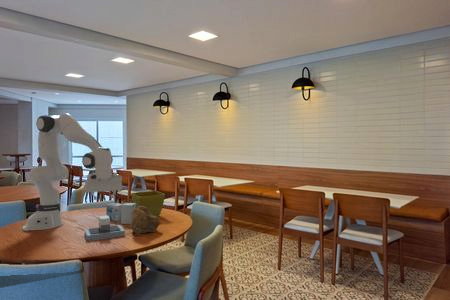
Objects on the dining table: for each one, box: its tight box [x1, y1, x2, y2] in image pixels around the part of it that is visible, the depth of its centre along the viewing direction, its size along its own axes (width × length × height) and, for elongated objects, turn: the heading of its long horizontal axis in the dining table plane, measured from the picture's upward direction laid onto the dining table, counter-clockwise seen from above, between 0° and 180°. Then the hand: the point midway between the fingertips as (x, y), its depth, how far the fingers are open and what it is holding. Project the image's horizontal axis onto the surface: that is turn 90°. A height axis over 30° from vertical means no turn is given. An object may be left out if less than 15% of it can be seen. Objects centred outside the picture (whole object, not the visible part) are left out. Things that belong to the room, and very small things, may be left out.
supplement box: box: [121, 202, 136, 225], centre depth 217 cm, size 7×7×13 cm
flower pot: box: [130, 190, 166, 218], centre depth 234 cm, size 19×19×17 cm
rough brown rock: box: [130, 206, 161, 235], centre depth 196 cm, size 23×17×15 cm
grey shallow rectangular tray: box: [84, 224, 126, 242], centre depth 188 cm, size 20×14×4 cm
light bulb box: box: [106, 202, 124, 222], centre depth 226 cm, size 11×7×11 cm, turn 68°
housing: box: [98, 214, 111, 231], centre depth 188 cm, size 5×8×7 cm, turn 29°
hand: (103, 198), depth 188 cm, fingers open, 8 cm apart
